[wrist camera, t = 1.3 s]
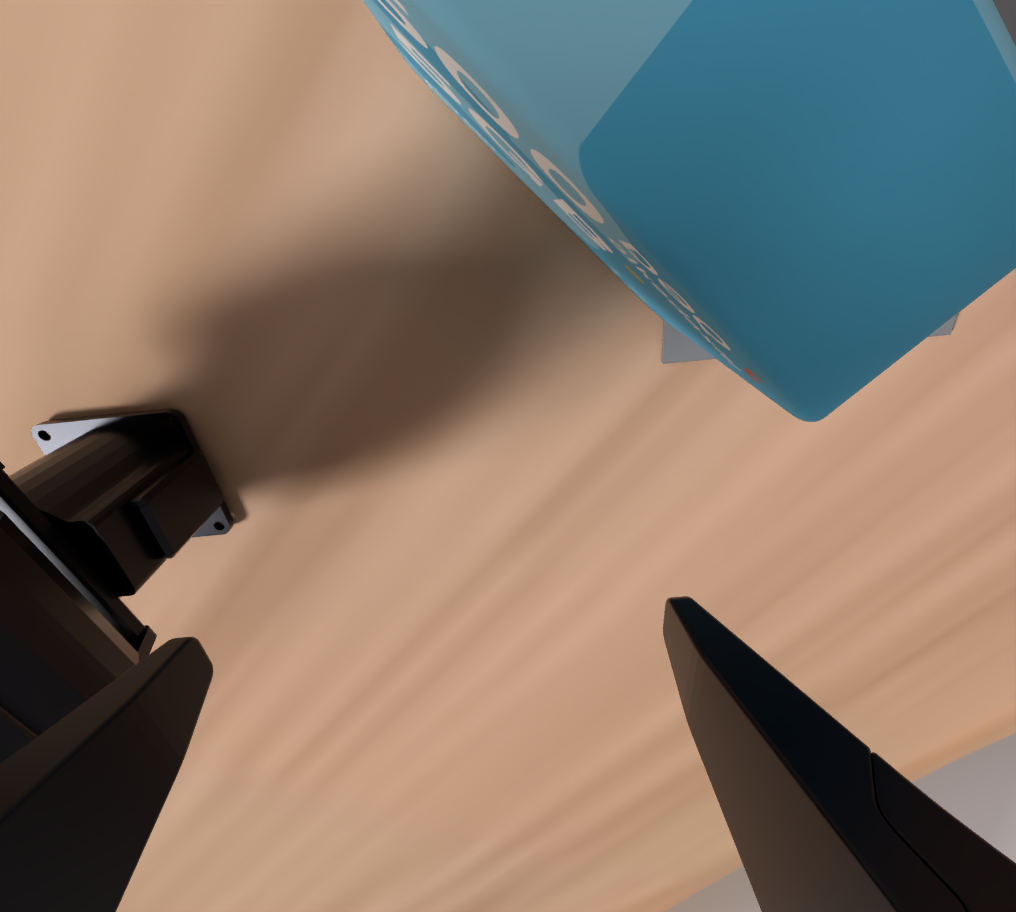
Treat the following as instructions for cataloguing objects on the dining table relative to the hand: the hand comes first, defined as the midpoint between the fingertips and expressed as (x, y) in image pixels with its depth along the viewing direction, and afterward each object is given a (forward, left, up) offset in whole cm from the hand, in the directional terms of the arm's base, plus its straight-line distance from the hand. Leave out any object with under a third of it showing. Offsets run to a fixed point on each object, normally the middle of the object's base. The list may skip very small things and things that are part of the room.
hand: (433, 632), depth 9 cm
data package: (+5, +8, -13) cm, 16 cm away
